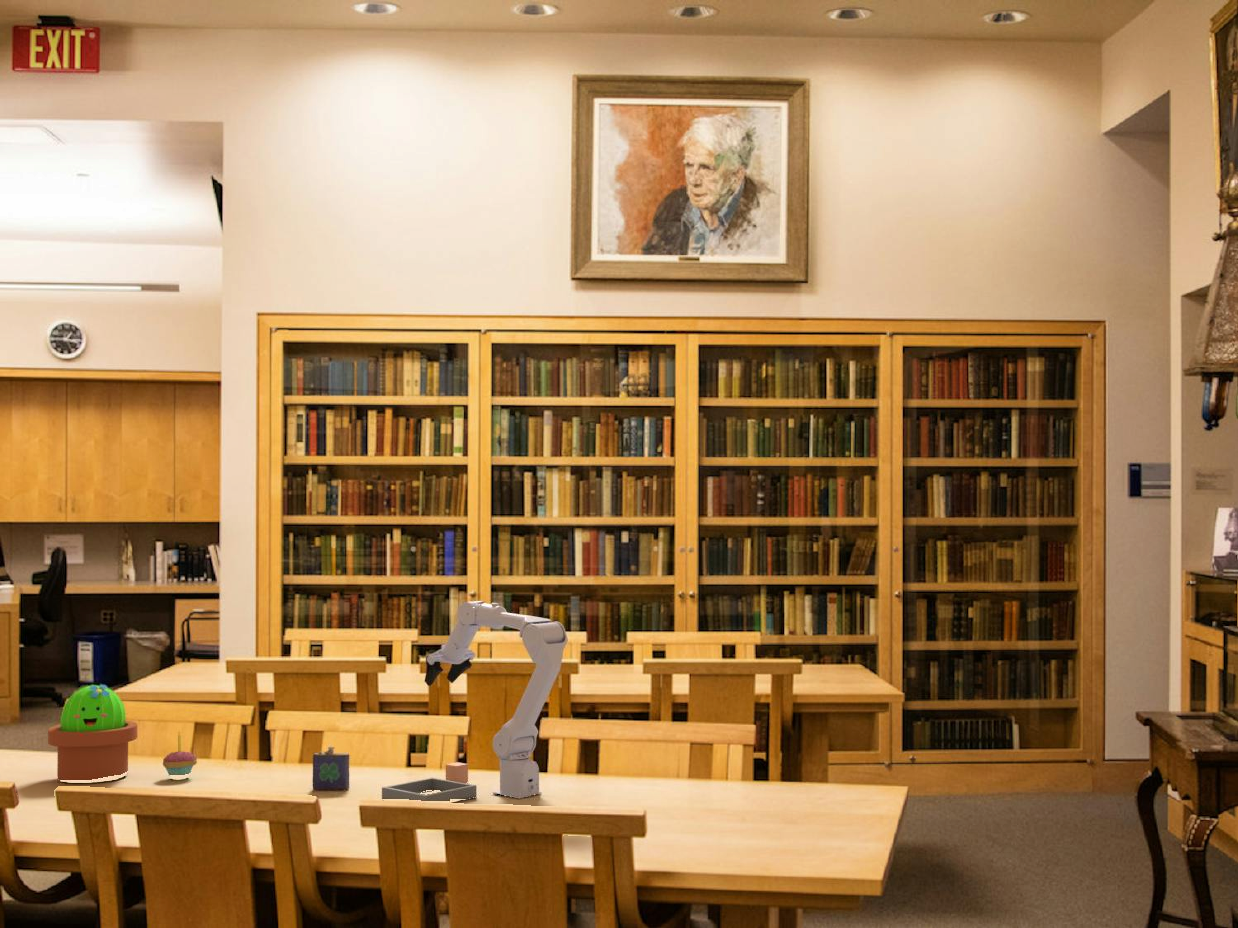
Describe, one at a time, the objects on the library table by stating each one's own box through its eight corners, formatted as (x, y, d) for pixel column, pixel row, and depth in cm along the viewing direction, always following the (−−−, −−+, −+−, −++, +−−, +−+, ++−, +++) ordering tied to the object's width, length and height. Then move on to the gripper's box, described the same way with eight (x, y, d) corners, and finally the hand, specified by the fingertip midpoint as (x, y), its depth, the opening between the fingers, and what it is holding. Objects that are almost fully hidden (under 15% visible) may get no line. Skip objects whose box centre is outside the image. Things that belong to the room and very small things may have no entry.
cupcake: (161, 777, 362) (161, 731, 362) (194, 774, 365) (194, 729, 366) (164, 782, 354) (165, 736, 354) (199, 780, 358) (199, 733, 358)
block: (468, 783, 350) (467, 763, 350) (456, 786, 347) (456, 766, 347) (457, 781, 353) (457, 762, 353) (445, 784, 350) (445, 764, 350)
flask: (350, 788, 345) (350, 745, 345) (347, 790, 342) (347, 747, 342) (314, 788, 345) (313, 745, 345) (310, 790, 342) (310, 747, 342)
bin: (476, 797, 332) (476, 785, 332) (425, 808, 320) (425, 795, 320) (432, 789, 342) (432, 777, 342) (381, 799, 330) (381, 787, 330)
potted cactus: (53, 773, 369) (54, 679, 370) (140, 768, 375) (140, 676, 376) (42, 788, 348) (42, 689, 349) (133, 783, 354) (134, 685, 355)
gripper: (471, 628, 358) (451, 669, 363) (429, 632, 347) (408, 674, 352) (487, 646, 354) (466, 686, 359) (444, 650, 343) (423, 692, 348)
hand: (438, 681), depth 355 cm, fingers open, 7 cm apart
